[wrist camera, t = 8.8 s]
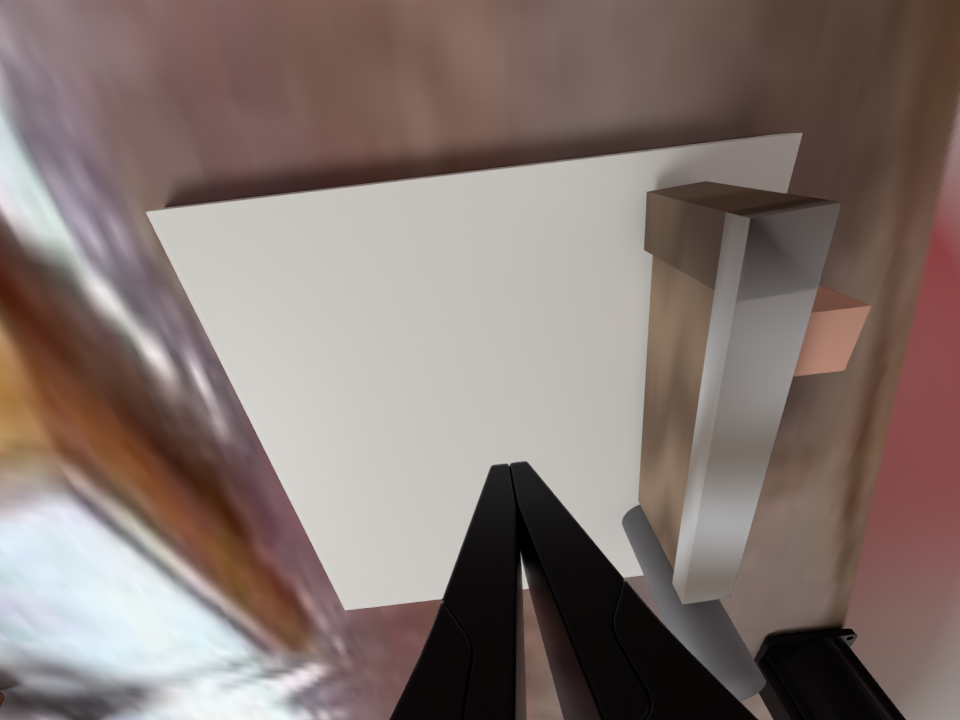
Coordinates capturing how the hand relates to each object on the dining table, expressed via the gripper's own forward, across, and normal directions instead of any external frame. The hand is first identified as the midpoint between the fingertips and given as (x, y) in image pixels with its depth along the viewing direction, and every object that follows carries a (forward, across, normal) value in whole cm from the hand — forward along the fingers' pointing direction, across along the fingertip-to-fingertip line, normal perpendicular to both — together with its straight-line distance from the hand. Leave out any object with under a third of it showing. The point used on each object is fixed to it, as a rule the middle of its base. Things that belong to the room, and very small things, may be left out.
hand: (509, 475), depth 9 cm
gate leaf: (+6, -7, +2) cm, 9 cm away
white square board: (+7, 0, +5) cm, 9 cm away
